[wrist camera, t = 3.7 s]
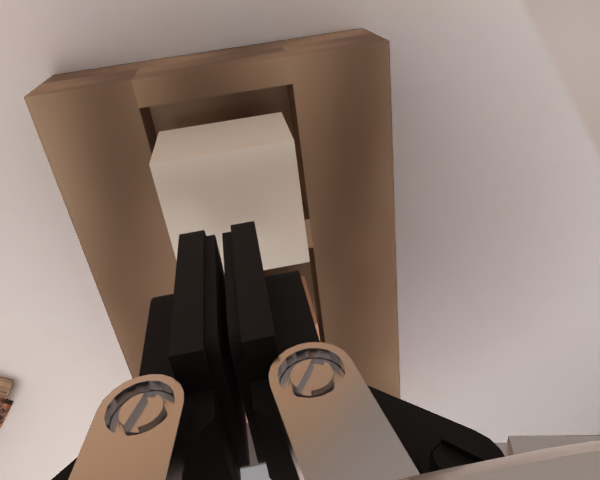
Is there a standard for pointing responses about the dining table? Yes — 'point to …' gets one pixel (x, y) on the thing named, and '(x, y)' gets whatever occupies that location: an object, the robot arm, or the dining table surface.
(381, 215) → the wooden key base
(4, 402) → the hardcover book
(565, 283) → the dining table surface
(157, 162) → the cream key
